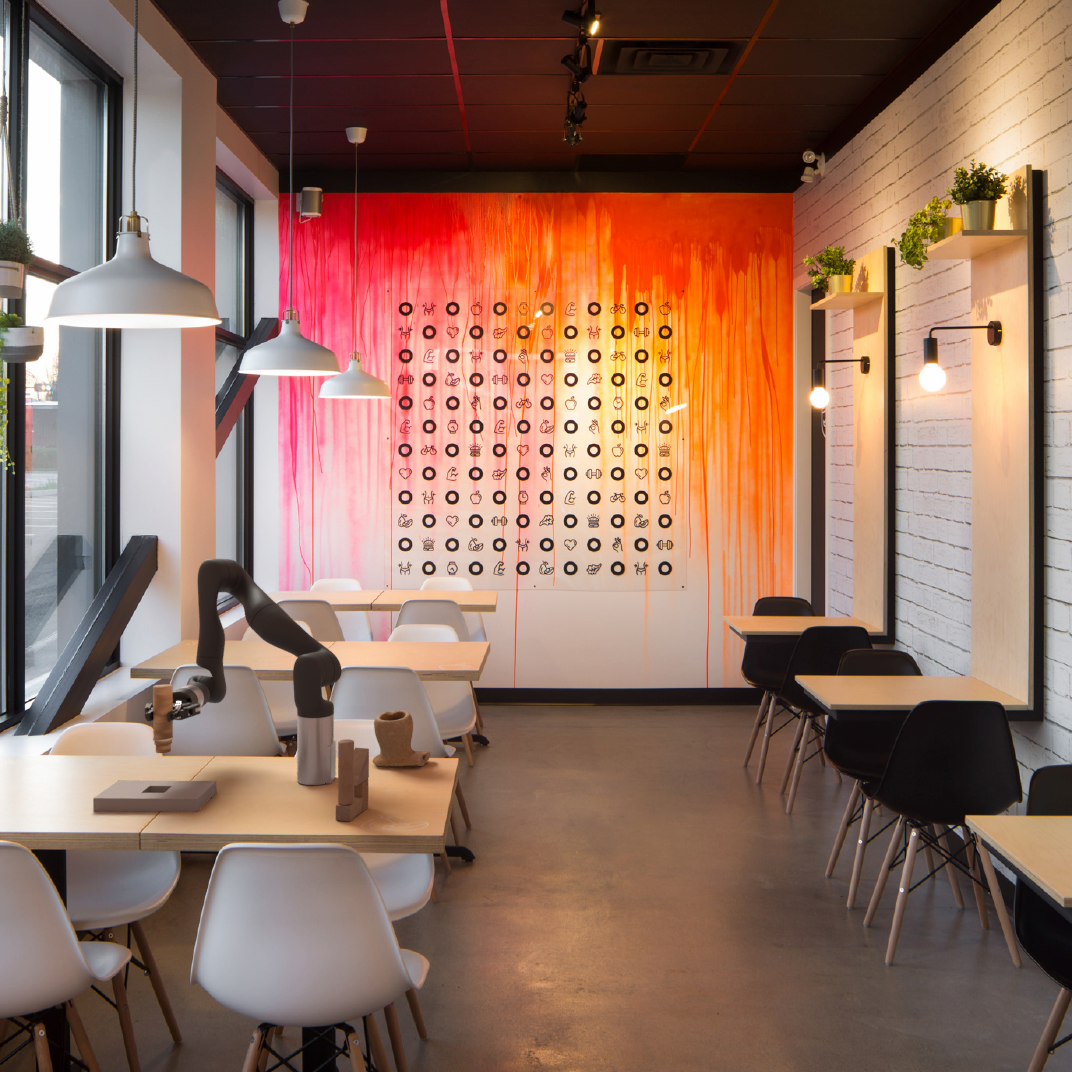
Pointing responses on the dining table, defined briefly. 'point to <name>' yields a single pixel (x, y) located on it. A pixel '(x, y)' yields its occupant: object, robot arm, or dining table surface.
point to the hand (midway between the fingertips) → (158, 717)
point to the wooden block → (352, 780)
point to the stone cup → (397, 740)
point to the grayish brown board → (155, 796)
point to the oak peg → (162, 717)
